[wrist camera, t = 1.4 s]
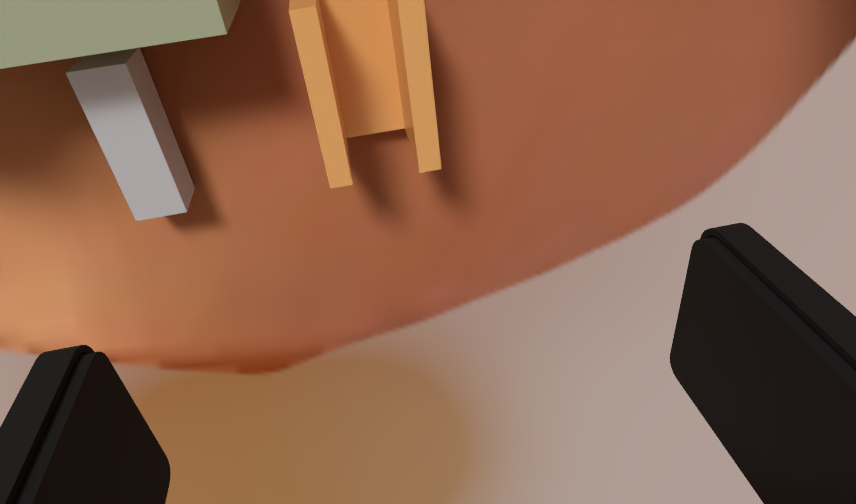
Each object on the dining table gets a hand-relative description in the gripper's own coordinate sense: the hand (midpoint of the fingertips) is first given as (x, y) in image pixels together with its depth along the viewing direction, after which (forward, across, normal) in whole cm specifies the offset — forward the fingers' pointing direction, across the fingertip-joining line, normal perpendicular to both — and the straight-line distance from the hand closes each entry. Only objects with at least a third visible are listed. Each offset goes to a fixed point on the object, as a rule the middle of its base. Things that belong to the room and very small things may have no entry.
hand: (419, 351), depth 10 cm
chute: (+17, 0, 0) cm, 17 cm away
